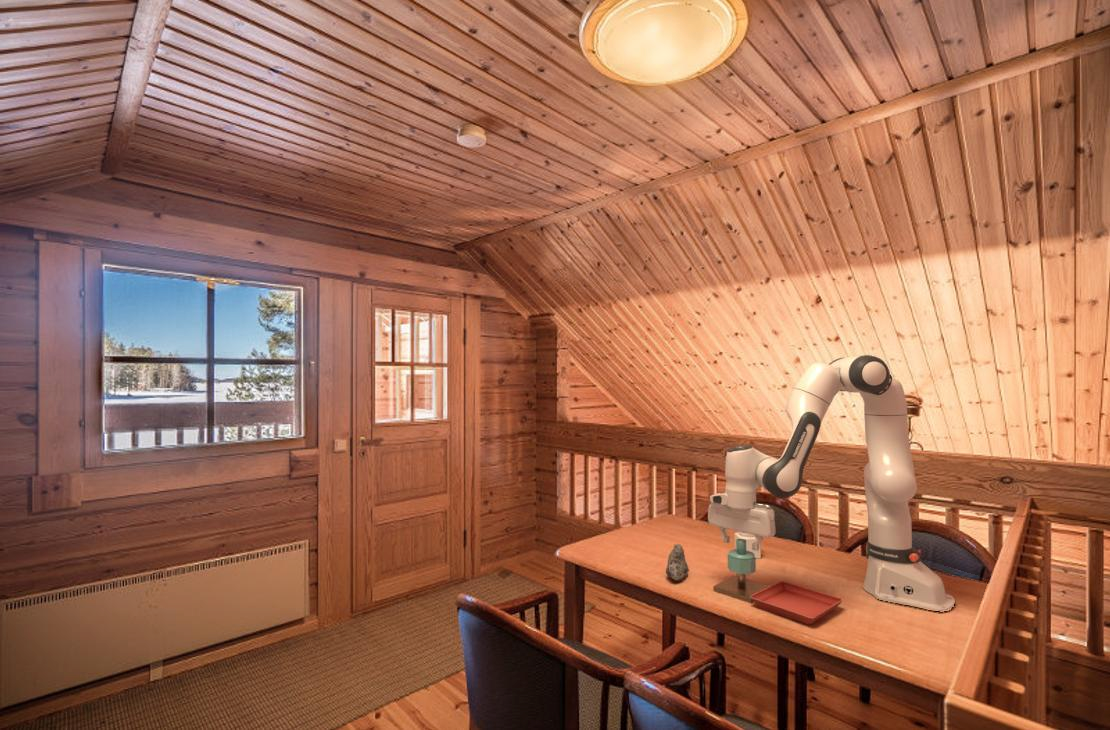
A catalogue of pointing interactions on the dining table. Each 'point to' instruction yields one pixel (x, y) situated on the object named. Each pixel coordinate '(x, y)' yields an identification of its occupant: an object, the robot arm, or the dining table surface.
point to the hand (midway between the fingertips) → (740, 545)
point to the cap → (741, 559)
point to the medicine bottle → (749, 543)
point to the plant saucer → (795, 602)
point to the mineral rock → (677, 563)
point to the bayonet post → (739, 587)
